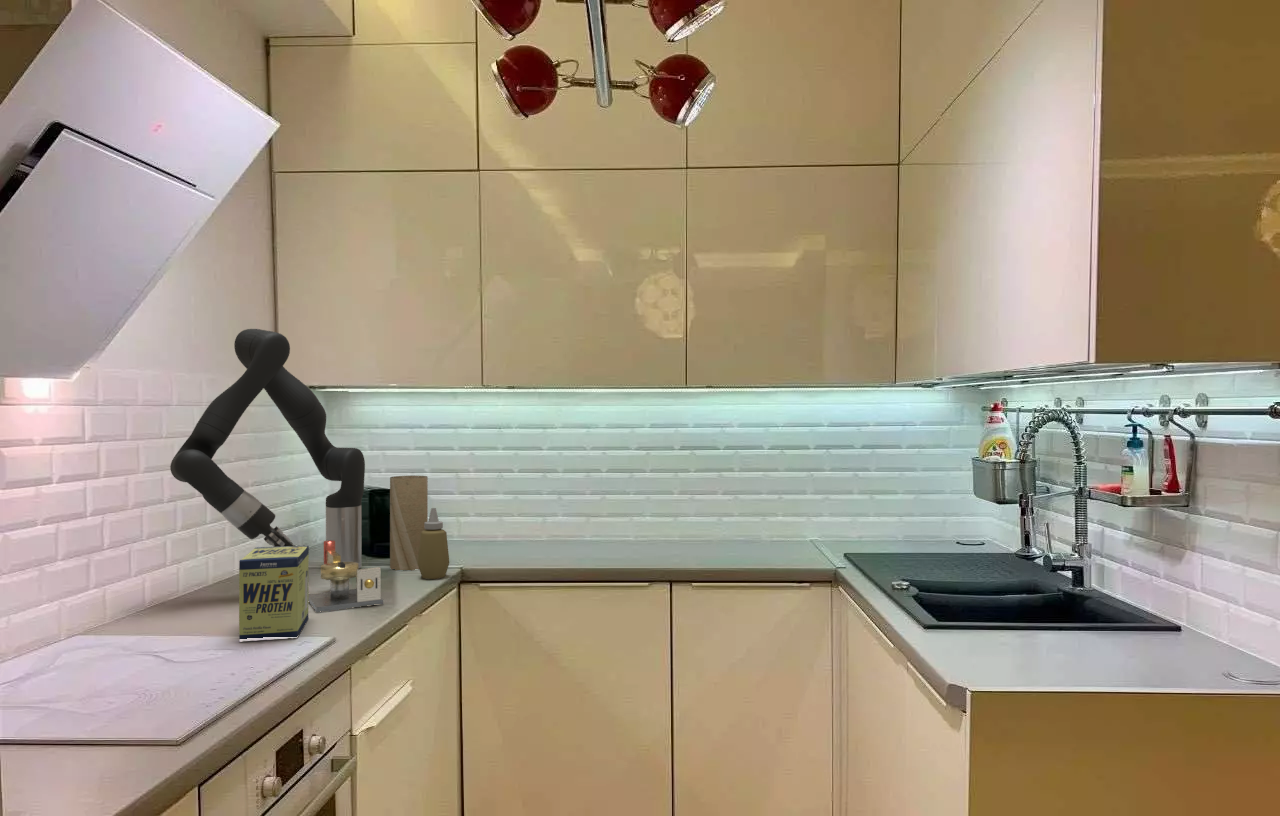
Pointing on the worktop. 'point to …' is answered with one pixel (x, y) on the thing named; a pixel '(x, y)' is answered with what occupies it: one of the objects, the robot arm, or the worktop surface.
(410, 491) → the tube
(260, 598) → the protein box
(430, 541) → the squeeze bottle
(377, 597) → the stand
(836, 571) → the worktop surface
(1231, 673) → the worktop surface
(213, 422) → the robot arm
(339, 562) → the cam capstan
